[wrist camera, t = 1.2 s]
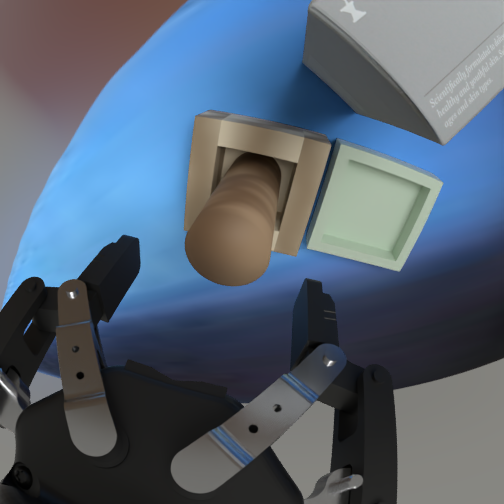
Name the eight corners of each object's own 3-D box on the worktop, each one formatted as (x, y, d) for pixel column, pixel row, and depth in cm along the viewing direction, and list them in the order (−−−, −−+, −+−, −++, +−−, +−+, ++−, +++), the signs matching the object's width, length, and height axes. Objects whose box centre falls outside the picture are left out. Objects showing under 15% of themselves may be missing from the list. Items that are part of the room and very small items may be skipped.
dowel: (286, 157, 23) (279, 225, 13) (275, 203, 26) (260, 293, 16) (234, 146, 23) (187, 204, 13) (226, 192, 26) (183, 275, 16)
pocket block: (325, 134, 22) (331, 145, 19) (296, 232, 28) (296, 256, 25) (210, 109, 22) (195, 116, 19) (197, 209, 28) (183, 230, 25)
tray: (433, 173, 22) (443, 182, 20) (394, 258, 28) (399, 271, 26) (336, 138, 22) (341, 144, 20) (306, 235, 28) (306, 248, 26)
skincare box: (355, 114, 21) (445, 176, 8) (292, 55, 19) (290, 9, 6) (419, 57, 16) (555, 62, 3) (359, -4, 14) (440, -86, 1)
